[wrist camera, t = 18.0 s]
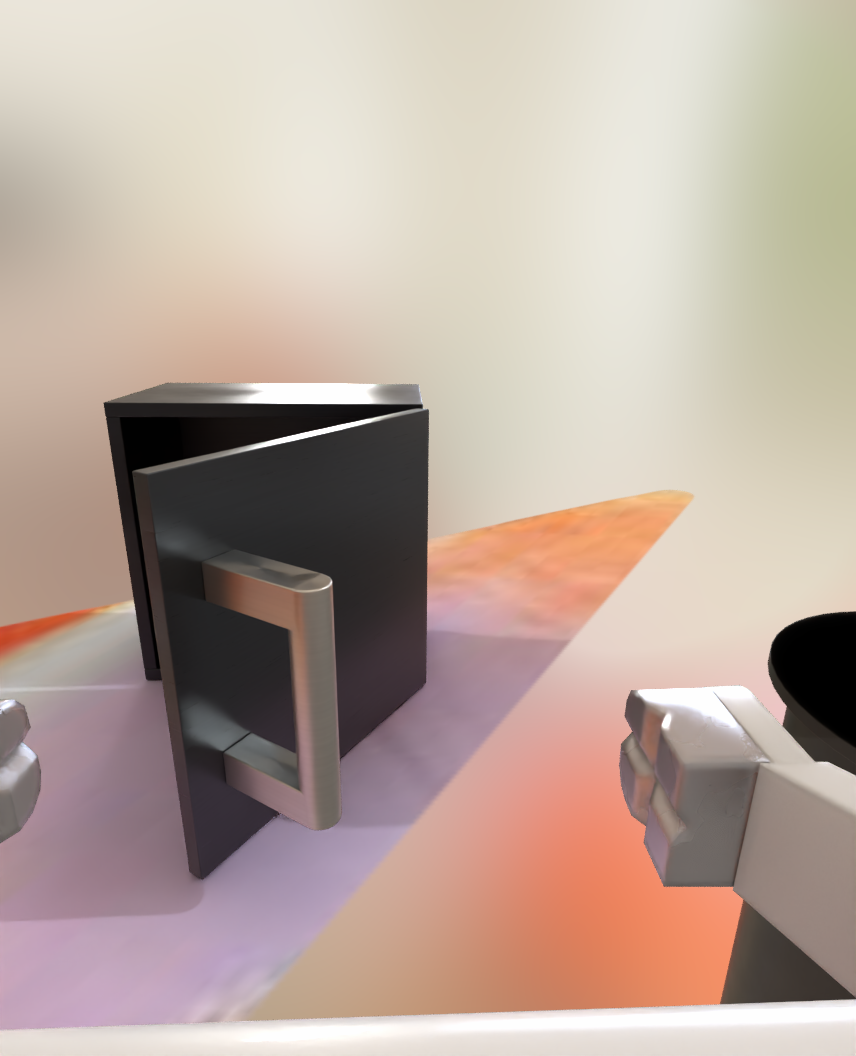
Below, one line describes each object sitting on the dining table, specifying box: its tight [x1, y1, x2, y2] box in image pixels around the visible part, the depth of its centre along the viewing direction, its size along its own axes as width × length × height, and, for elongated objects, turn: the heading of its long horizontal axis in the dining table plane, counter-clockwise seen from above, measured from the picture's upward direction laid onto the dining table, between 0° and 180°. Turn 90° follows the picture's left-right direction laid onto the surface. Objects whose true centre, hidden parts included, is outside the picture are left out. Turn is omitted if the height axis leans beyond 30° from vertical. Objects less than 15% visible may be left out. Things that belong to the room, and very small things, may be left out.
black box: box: [104, 383, 423, 680], centre depth 43 cm, size 10×18×18 cm, turn 92°
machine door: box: [132, 408, 429, 880], centre depth 30 cm, size 6×18×17 cm, turn 148°
